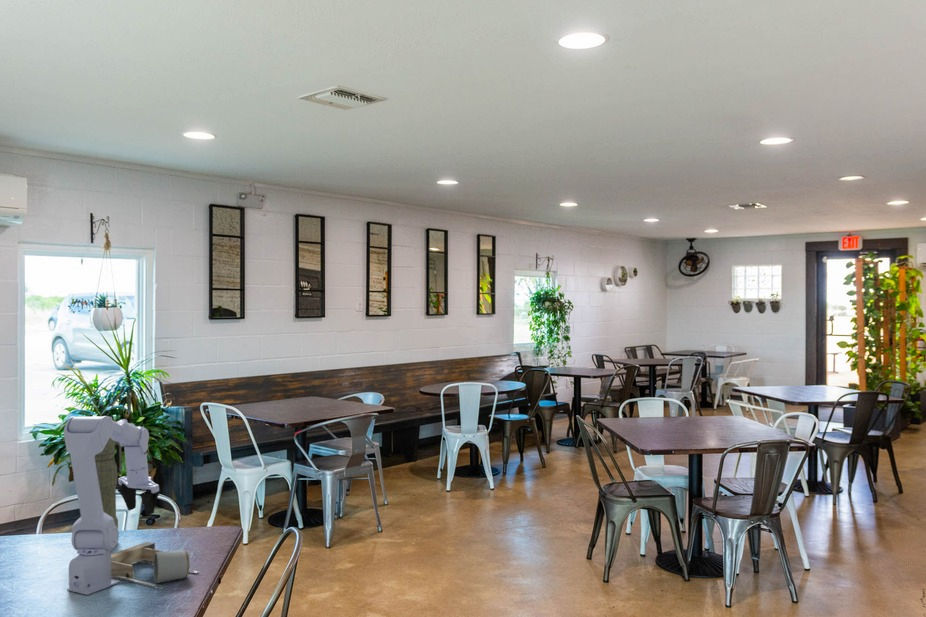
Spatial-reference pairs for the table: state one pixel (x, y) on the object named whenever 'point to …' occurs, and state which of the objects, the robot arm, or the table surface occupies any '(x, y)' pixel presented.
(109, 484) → the thermos
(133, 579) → the track
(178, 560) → the ceramic mug
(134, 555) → the tan wooden bracket
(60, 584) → the table surface
